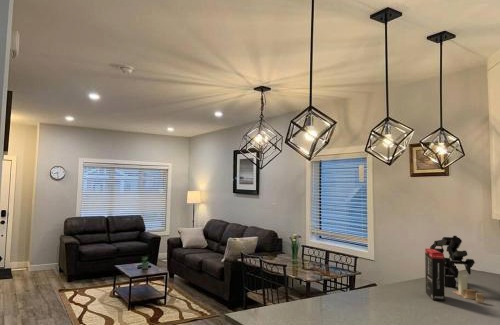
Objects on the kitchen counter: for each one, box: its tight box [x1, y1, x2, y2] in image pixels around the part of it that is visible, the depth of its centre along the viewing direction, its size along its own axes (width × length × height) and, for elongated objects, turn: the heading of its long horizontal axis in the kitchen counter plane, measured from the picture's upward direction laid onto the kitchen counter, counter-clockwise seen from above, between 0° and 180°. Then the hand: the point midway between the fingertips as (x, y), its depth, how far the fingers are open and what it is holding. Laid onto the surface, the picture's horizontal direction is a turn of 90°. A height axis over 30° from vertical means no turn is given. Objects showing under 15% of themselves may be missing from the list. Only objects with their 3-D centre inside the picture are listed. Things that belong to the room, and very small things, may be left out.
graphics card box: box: [424, 247, 446, 302], centre depth 218 cm, size 17×7×27 cm, turn 168°
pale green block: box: [457, 273, 468, 294], centre depth 228 cm, size 4×4×11 cm
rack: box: [461, 288, 485, 304], centre depth 215 cm, size 13×8×5 cm, turn 176°
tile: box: [451, 290, 464, 296], centre depth 228 cm, size 9×9×1 cm
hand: (462, 274), depth 229 cm, fingers open, 9 cm apart
